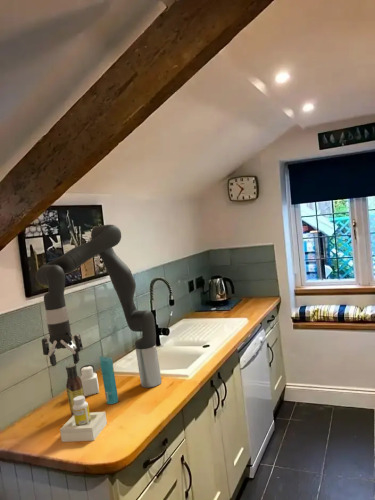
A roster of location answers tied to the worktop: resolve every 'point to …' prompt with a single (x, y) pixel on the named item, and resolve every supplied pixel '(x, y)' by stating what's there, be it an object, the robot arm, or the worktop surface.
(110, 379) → the tube
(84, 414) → the supplement bottle
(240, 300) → the worktop surface
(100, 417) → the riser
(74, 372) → the sauce bottle
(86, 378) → the medicine bottle
